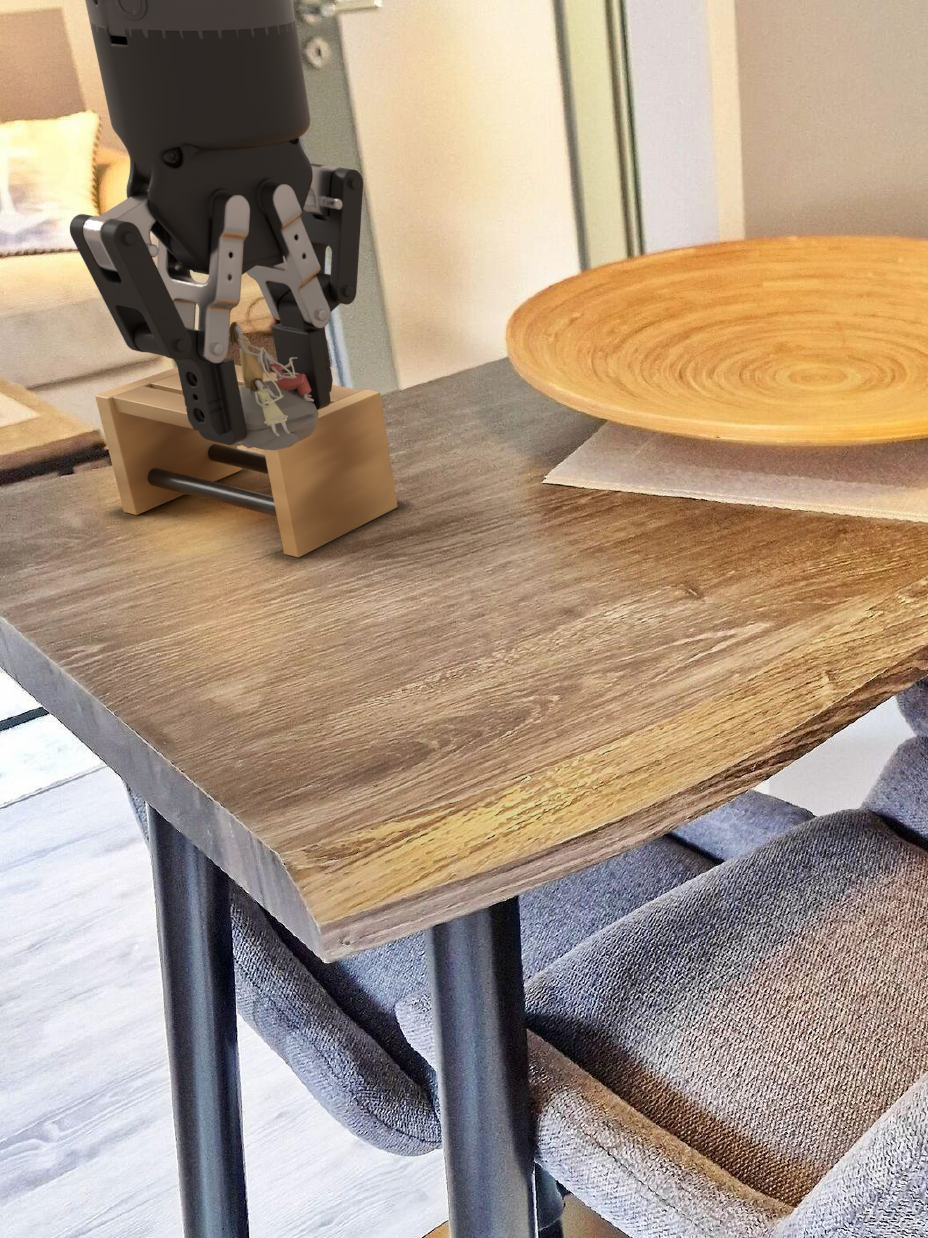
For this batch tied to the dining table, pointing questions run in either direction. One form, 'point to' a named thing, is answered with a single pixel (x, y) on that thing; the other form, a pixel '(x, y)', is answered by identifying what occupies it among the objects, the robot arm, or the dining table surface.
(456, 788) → the dining table surface
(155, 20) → the robot arm
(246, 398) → the figurine
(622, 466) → the dining table surface
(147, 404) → the rack
